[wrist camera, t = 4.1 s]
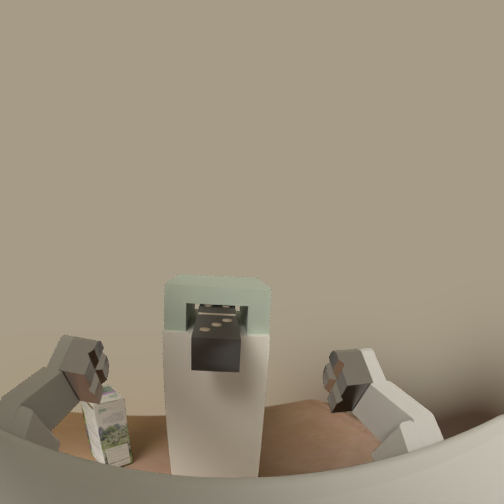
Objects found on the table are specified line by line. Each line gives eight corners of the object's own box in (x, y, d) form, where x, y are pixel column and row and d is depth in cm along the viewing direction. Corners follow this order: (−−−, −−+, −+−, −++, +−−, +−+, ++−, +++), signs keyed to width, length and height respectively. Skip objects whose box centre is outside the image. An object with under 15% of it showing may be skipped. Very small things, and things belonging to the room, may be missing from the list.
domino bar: (191, 370, 24) (191, 336, 23) (200, 321, 37) (201, 297, 37) (239, 372, 24) (241, 338, 24) (232, 322, 38) (233, 299, 38)
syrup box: (117, 447, 43) (107, 381, 43) (134, 463, 40) (124, 396, 39) (91, 455, 39) (77, 388, 38) (108, 473, 35) (92, 404, 35)
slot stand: (175, 499, 32) (163, 285, 32) (182, 450, 46) (179, 274, 46) (255, 502, 34) (273, 290, 33) (246, 452, 48) (257, 278, 47)
